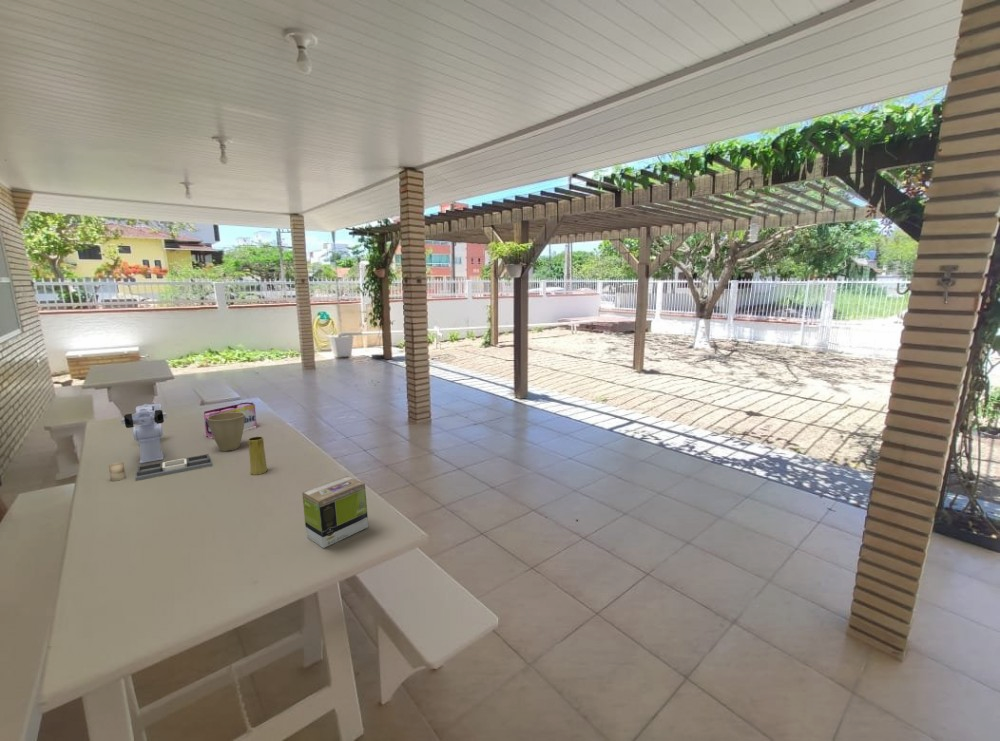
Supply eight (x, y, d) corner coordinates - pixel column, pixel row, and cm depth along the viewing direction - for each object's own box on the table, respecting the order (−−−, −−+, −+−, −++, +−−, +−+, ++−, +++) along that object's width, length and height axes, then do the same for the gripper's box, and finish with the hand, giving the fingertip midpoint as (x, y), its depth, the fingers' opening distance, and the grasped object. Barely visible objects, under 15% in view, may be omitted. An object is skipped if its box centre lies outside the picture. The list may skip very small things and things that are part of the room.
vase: (259, 475, 174) (256, 441, 171) (246, 474, 175) (243, 440, 172) (270, 469, 179) (267, 436, 177) (257, 468, 181) (254, 435, 178)
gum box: (212, 440, 217) (209, 414, 215) (203, 438, 221) (200, 412, 219) (257, 427, 238) (255, 403, 236) (248, 426, 242) (246, 402, 240)
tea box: (350, 518, 140) (348, 474, 138) (369, 528, 134) (366, 482, 131) (305, 537, 128) (301, 490, 126) (322, 549, 122) (319, 500, 120)
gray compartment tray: (137, 471, 177) (136, 465, 177) (210, 458, 192) (209, 452, 192) (135, 480, 169) (134, 474, 168) (212, 465, 184) (211, 460, 183)
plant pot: (235, 454, 197) (232, 420, 195) (203, 454, 198) (199, 420, 195) (254, 443, 212) (251, 411, 210) (224, 443, 212) (221, 411, 210)
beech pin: (111, 478, 171) (109, 464, 170) (126, 475, 174) (124, 461, 173) (110, 482, 168) (108, 467, 167) (125, 479, 170) (123, 464, 169)
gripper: (121, 409, 179) (117, 414, 168) (165, 404, 188) (164, 408, 177) (123, 426, 180) (120, 432, 169) (167, 420, 188) (167, 425, 178)
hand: (143, 421), depth 173 cm, fingers open, 7 cm apart
